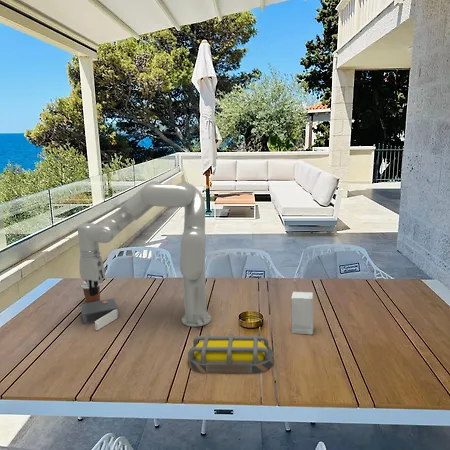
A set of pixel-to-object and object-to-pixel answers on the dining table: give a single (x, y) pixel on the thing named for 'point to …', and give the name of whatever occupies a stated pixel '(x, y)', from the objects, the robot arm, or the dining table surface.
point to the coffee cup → (87, 294)
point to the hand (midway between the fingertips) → (93, 294)
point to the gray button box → (97, 310)
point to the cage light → (230, 355)
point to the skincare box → (302, 312)
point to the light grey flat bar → (106, 319)
